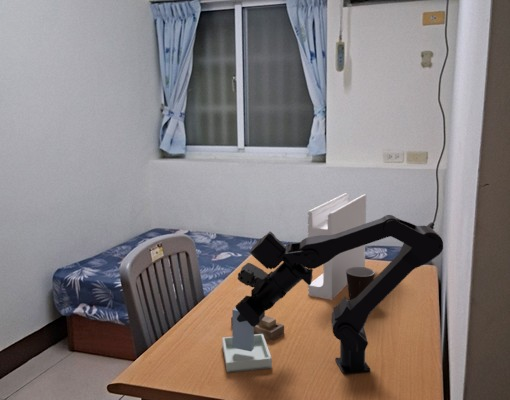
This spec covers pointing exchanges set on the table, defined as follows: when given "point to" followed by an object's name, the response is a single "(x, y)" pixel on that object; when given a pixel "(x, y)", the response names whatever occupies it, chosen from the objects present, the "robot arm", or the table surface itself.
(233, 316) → the pale blue tall block
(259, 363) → the tray
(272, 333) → the rack
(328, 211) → the white piece
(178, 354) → the table surface
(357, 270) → the coffee mug
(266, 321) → the offcut
